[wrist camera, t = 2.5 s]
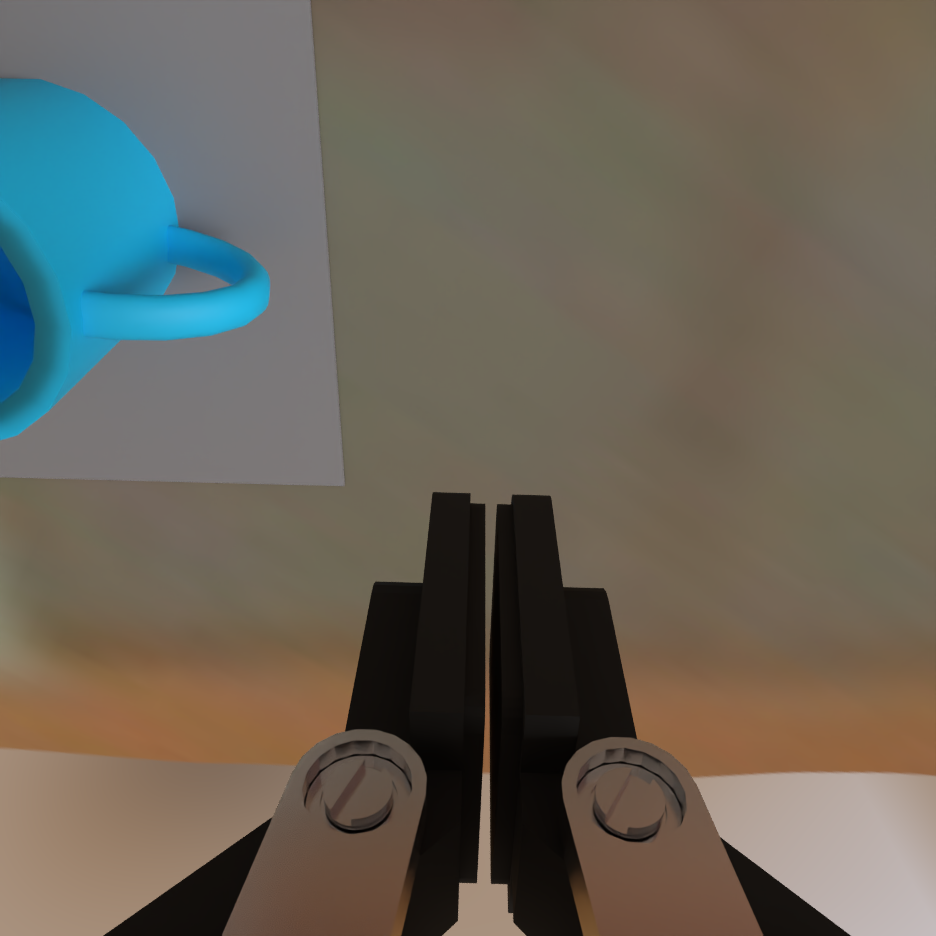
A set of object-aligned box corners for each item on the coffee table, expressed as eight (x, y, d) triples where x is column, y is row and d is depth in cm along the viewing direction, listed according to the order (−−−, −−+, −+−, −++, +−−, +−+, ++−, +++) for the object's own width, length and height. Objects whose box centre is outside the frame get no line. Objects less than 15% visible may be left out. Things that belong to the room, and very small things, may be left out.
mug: (-54, 311, 27) (-235, 422, 20) (-101, 52, 23) (-350, 80, 16) (289, 367, 28) (228, 491, 21) (304, 128, 24) (233, 186, 17)
